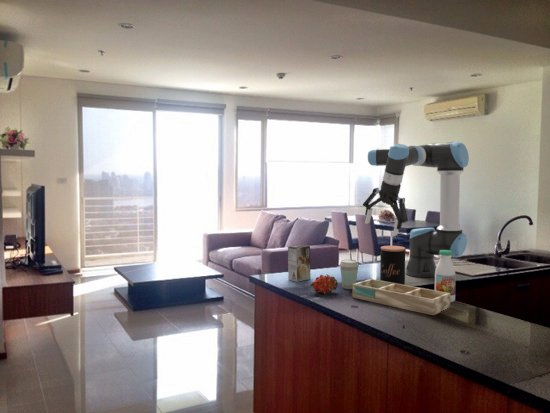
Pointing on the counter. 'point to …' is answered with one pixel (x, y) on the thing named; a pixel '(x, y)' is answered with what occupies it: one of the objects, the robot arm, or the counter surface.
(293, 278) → the coffee box
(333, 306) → the counter surface
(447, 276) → the milk bottle
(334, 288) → the dragon fruit
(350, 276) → the coffee cup
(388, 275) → the coffee jar
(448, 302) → the wooden compartment tray
